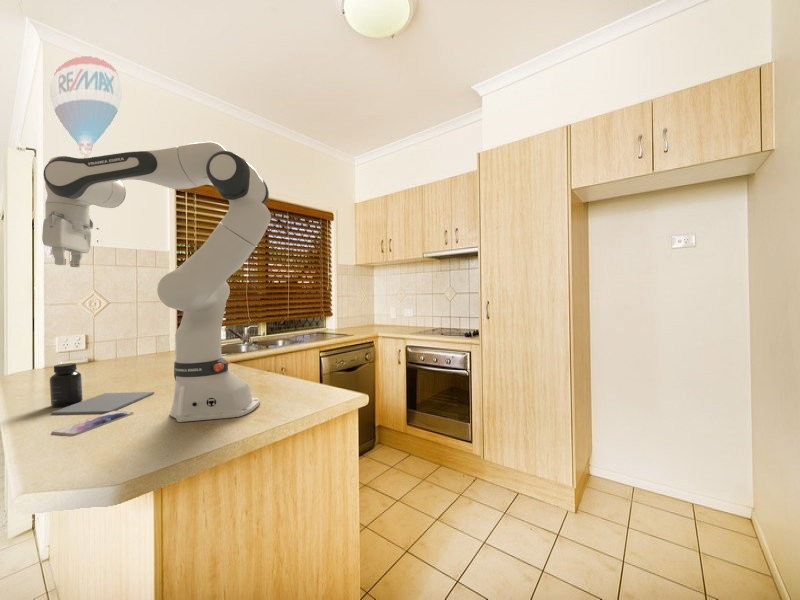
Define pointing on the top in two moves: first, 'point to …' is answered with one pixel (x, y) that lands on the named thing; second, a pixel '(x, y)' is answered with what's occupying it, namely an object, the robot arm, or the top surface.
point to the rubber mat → (103, 403)
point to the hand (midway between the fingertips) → (68, 266)
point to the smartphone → (91, 423)
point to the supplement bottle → (65, 386)
